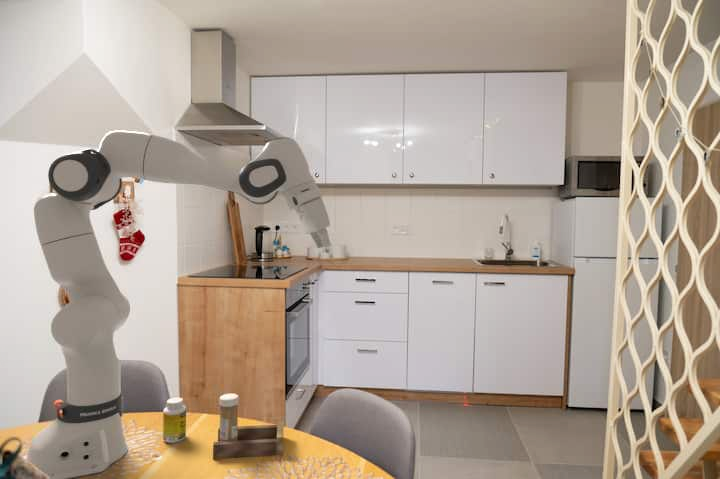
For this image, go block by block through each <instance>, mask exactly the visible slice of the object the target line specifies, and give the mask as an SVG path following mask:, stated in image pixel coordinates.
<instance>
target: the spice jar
mask: <svg viewBox="0 0 720 479" xmlns="http://www.w3.org/2000/svg"><path fill="white" fill-rule="evenodd" d="M238 405H239V395H238V394H236V393H224V394H222V395H221V396H220V397H219V410H220V411H219V412H220V413H219V427H220V442H224V441H237V435H238V425H239V423H238V421H239V418H238V417H239V416H238V415H239V414H238V413H239V412H238V407H239V406H238Z"/></svg>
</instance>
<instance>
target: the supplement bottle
mask: <svg viewBox="0 0 720 479" xmlns="http://www.w3.org/2000/svg"><path fill="white" fill-rule="evenodd" d="M162 411H163V412H162V419H163V420H162V440H163V441H164V442H165V443H168V444H170V443H171V444H174V443H179V442H182V441H183V440H184V439H185V438H186V436H187V407H186V406H185V405H184V399H183V398H182V397H171V398H168V399H167V401H166V407H164V409H163V410H162Z"/></svg>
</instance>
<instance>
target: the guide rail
mask: <svg viewBox="0 0 720 479" xmlns="http://www.w3.org/2000/svg"><path fill="white" fill-rule="evenodd" d="M284 425H285V421H284V420H277V424H263V425H262V424H261V425H242V426H238V435H237V441H224V442H220V426H219V427H218V430H217V441H214V442H213V445H212V460H224V459H225V460H226V459H241V458H258V457H260V458H261V457H278V456H284V435H285V434H284V431H285V428H284V427H285V426H284Z"/></svg>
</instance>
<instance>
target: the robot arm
mask: <svg viewBox="0 0 720 479" xmlns="http://www.w3.org/2000/svg"><path fill="white" fill-rule="evenodd" d="M47 177H48V182H49V184H50V186H51V188H52V189H53V190H54V191H55V192H54V193H49V194H47V195H44V196H42V197H41V198H39V199H38V200H37V201H36V202H35V203H34V206H33V216H34V223H35V230H36V233H37V238H38V241H39V244H40V247H41V250H42V253H43V256H44V259H45V262H46V265H47V268H48V271H49V273H50V277H51V278H52V280H53V281H54V282H56V283H57V284H58V285H59V286H60V287H61V288H62V289H63V291H64V292H65V294H66V295H67V297H68V298H69V300H70V302H68V303H67V304H65V305H64V306H63V307H62V308H60V309H59V311H58V312H57V313H56V314H55V316H54V317H53V319H52V322H51V323H50V331H51V335H52V337H53V339H54V341H55V342H56V343H57V344H58V345H60V347H61V351H62V354H63V358H64V361H65V367H66V377H67V378H66V379H67V380H66V382H67V389H66V390H67V391H66V392H67V395H66V396H67V399H66V400H65V401H64V400H62V399H57V400H55V401H54V402H53V409H54V410H56V419H53V421H52V422H51V423H49V424H48V425H47V426H45V427H44V428H43V429H41V430H40V431H39V432H38V433H37V434H35V435H34V437H33V438H32V439H31V441H30V443H29V446H28V450H27V453H26V455H24V456H23V457H22V458H24V459H26V460H27V461H29V462H30V463H32V464H33V465H35V467H37V468H38V469H39V470H41V471H42V472H44V473H45V474H47V475H48V476H49V478H50V479H72V478H76V477H81V476H88V475H92V474H98V473H102V472H103V471H105V470H107V469H108V468H109V466H110V465H112V464H113V463H114V462H116V461H118V460H120V459H121V458H122V457H123V456H124V455H126V453H127V452H128V449H129V448H128V444H127V442H126V437H125V433H124V429H123V428H124V426H123V422H122V421H123V420H122V417H123V412H124V397H123V393H122V392H121V382H122V381H121V371H122V370H121V360H120V359H119V358H118V356H117V353H116V350H115V348H116V347H115V345H114V344H115V343H114V333H115V332H116V331H118V330H120V329H121V328H122V327H123V326H124V325H125V323H126V322H127V319H128V317H129V315H130V313H131V305H130V302H129V300H128V298H127V297H126V296H125V295H124V294H123V293H122V292H121V291H120V289H119V287H118V285H117V283H116V281H115V280H114V278H113V276H112V274H111V273H110V271H109V269H108V267H107V265H106V262H105V260H104V257H103V254H102V252H101V248H100V246H99V242H98V240H97V237H96V234H95V232H94V228H93V225H92V222H91V217H90V213H91V211H95V210H98V209H99V208H101V207H103V206H104V205H106V204H107V203H108V204H109V202H111V201H112V200H113V201H114V199H116V198H117V197H118V196H119V194H120V193H121V191H122V188H123V178H134V179H139V180H144V181H149V182H154V183H162V184H164V183H165V184H174V185H175V184H179V185H180V184H181V185H195V186H196V185H198V186H205V187H209V188H215V189H219V190H223V191H228V192H232V193H236V194H238V195H240V196H241V197H243V198H244V199H245V200H247V201H249V202H250V203H252V204H254V205H255V204H256V205H266V204H269V203H271V202H272V201H273V200H274V199H276V197H277V196H278V194H279V191H281V193H282V194H283V196H284V199H285V200H286V204H287V206H288V208H289V210H290V211H293V210H295V211H296V214H297V216H298V219H299V222H300V225H301V227H302V229H303V232H304V233H305V235H309V234H310V237H311V239H312V240H313V242H314V244H315V246H316V248H317V249H321V248H328V247H330V246H331V245H332V243H331V241H330V237H329V232H328V230H327V228H328V227H330V226H331V225H330V224H331V223H330V218H329V215H328V214H329V213H328V212H327V209H326V205H325V203H324V201H323V198H322V197H323V193H322V189H321V188H320V187H318V185H317V182H316V179H315V177H313V176H312V174H311V172H310V168H309V164H308V161H307V159H306V157H305V154H304V152H303V151H302V148H301V147H300V145H299V144H298V142H297V141H296V140H295V139H293V138H291V137H286V136H285V137H278V138H274V139H272V140H269V141H267V142H266V144H265V146H264V147H263V149H262V150H261V151H260V153H259V154H258V155H257V156H256V157H254V158H253V159H252V160H251V161H249V162H248V163H247V164H245V165H244V166H243V167H242V168H241V169H240V168H239V169H238V168H235V167H231V166H227V165H222V164H218V163H214V162H211V161H208V160H206V159H204V158H202V157H201V156H199V155H198V154H196V153H194V151H192V150H191V149H190V148H188V147H187V146H186V145H184V144H181V143H180V142H177V141H175V140H172V139H170V138H168V137H164V136H159V135H156V134H155V135H154V134H151V133H145V132H140V131H127V130H113V131H109V132H108V133H106V134H105V135H104V137H103V138H102V140H101V142H100V144H99V147H98V150H96V149H94V148H86V149H83V150H79V151H75V152H71V153H67V154H63V155H62V156H59V157H58V158H56V159H55V160H54V161H53V162H52V163H51V164H50V166H49V169H48V175H47Z"/></svg>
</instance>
